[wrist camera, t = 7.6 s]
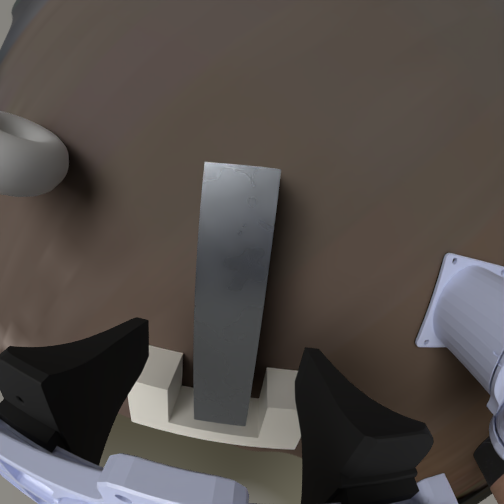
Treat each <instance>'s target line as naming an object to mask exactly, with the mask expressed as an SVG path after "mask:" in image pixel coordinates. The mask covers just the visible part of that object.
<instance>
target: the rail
mask: <svg viewBox="0 0 504 504" xmlns="http://www.w3.org/2000/svg"><path fill="white" fill-rule="evenodd" d="M280 174H281V169H273V168H265V167H256V166H246V165H236V164H225V163H212V162H205V166H204V175H203V186H202V196H201V208H200V220H199V233H198V248H197V265H196V284H195V309H194V356H193V389H194V419H195V420H201V421H207V422H214V423H221V424H229V425H237V426H246V421H247V415H248V408H249V402H250V396H251V389H252V383H253V376H254V370H255V363H256V356H257V349H258V343H259V336H260V329H261V322H262V315H263V308H264V300H265V293H266V286H267V278H268V271H269V263H270V256H271V248H272V240H273V232H274V224H275V216H276V208H277V200H278V191H279V183H280Z"/></svg>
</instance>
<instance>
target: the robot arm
mask: <svg viewBox="0 0 504 504" xmlns="http://www.w3.org/2000/svg"><path fill="white" fill-rule="evenodd" d="M453 259H454V262H453V263H452V261H453ZM425 340H426V342H425ZM415 344H416V345H417V346H418V347H447V348H448V349H449V350H450V351H451V352H452V353H453V354H454V355H455V357H456V358H457V359H458V360H459V361H460V362H461V363H462V364H463V365H464V366H465V367H466V368H467V369H468V371H469V372H470V373H471V374H472V375H473V376H474V377H475V378H476V379H477V381H478V382H479V383H480V384H481V385H482V386H483V387H484V389H485V390H486V391H487V392H488V393H489V394H490V399H489V401H488V403H487V405H486V406H487V407H488V409H489V410H490V411H491V412H492V414H493V416H492V418H491V421H490V424H489V435H490V439H491V442H492V445H493V447H494V449H495V451H496V452H497V454H498V455H499V456H500V457H501V458H502V459H503V460H504V267H503V266H500V265H496V264H492V263H488V262H484V261H481V260H477V259H473V258H469V257H465V256H461V255H457V254H453V253H447V254H446V255H445V256H444V259H443V262H442V266H441V270H440V273H439V276H438V280H437V283H436V286H435V289H434V292H433V295H432V298H431V301H430V304H429V307H428V310H427V312H426V315H425V318H424V321H423V323H422V326H421V328H420V331H419V333H418V336H417V338H416V341H415ZM148 357H149V331H148V320H145V319H141V318H137V317H136V318H133V319H131V320H129V321H126V322H124V323H122V324H120V325H118V326H116V327H113V328H111V329H109V330H107V331H104V332H102V333H99V334H97V335H94V336H91V337H89V338H86V339H83V340H79V341H75V342H72V343H67V344H61V345H55V346H47V347H14V346H9V347H8V348H7V349H6V350H4V351H3V352H2V353H1V354H0V391H1V393H2V395H3V397H4V400H3V401H2V402H1V403H0V475H1V476H3V477H4V478H5V479H6V480H7V481H9V482H10V483H11V484H12V485H14V486H15V487H16V488H17V489H19V490H20V491H21V492H23V493H24V494H25V495H27V496H28V497H29V498H31V499H32V500H33V501H35V502H36V503H38V504H254V503H248V501H249V494H248V491H247V488H246V487H244V486H243V485H241V484H239V483H238V482H236V481H234V480H232V479H228V478H224V477H221V476H217V475H211V474H206V473H200V472H195V471H190V470H186V469H181V468H177V467H173V466H169V465H165V464H161V463H158V462H154V461H151V460H147V459H144V458H141V457H137V456H133V455H128V454H124V453H120V454H116V455H111V456H110V457H109V459H108V461H107V463H106V465H105V467H104V468H103V467H100V466H99V463H100V459H101V456H102V453H103V450H104V447H105V444H106V441H107V438H108V436H109V433H110V430H111V428H112V425H113V423H114V421H115V418H116V416H117V414H118V411H119V409H120V408H121V406H122V404H123V402H124V401H125V399H126V397H127V396H128V394H129V392H130V391H131V389H132V388H133V386H134V384H135V383H136V381H137V380H138V378H139V376H140V375H141V373H142V371H143V369H144V367H145V364H146V362H147V359H148ZM295 402H296V408H297V415H298V420H299V426H300V432H301V439H302V464H303V467H302V469H303V470H302V498H301V504H458V502H457V500H456V497H455V495H454V493H453V491H452V489H451V487H450V484H449V482H448V480H447V478H446V476H445V474H444V473H442V474H438V475H435V476H432V477H428V478H425V479H422V480H420V481H419V482H417V483H416V481H415V478H414V477H416V476H417V470H416V468H415V467H416V466H417V465H418V464H419V463H420V462H421V460H422V459H423V458H424V457H425V456H426V455H427V453H428V452H429V450H430V449H431V447H432V445H433V437H432V435H431V433H430V431H429V430H428V428H427V426H426V424H425V423H423V422H420V421H417V420H414V419H411V418H408V417H405V416H403V415H400V414H398V413H396V412H394V411H392V410H390V409H388V408H386V407H384V406H382V405H380V404H379V403H377V402H375V401H374V400H372V399H371V398H369V397H368V396H367V395H365V394H364V393H362V392H361V391H360V390H359V389H357V388H356V387H355V386H354V385H353V384H352V383H350V382H349V381H348V380H347V379H346V378H345V377H344V376H343V375H342V374H341V373H340V372H339V371H338V370H337V369H336V368H335V367H334V366H333V364H332V363H331V362H330V361H329V360H328V359H327V358H326V357H325V356H324V354H323V353H322V352H321V351H320V350H319V349H315V348H305V350H304V353H303V357H302V360H301V363H300V366H299V369H298V373H297V376H296V379H295Z"/></svg>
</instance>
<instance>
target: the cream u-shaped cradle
mask: <svg viewBox="0 0 504 504" xmlns="http://www.w3.org/2000/svg"><path fill="white" fill-rule="evenodd" d="M182 369H183V353H180V352H176V351H171V350H167V349H163V348H158V347H154V346H150V345H149V357H148V359H147V362H146V364H145V367H144V369H143V371H142V373H141V375H140V376H139V378H138V380H137V381H136V383H135V384H134V386H133V388H132V389H131V391H130V392H129V394H128V401H129V408H130V414H131V419H132V422H135V423H139V424H142V425H146V426H149V427H152V428H156V429H160V430H164V431H167V432H172V433H176V434H180V435H185V436H189V437H194V438H199V439H204V440H209V441H215V442H221V443H228V444H235V445H243V446H252V447H262V448H275V449H294V450H295V448H296V446H297V444H298V442H299V439H300V437H301V432H300V426H299V420H298V415H297V408H296V402H295V379H296V376H297V373H298V371H296V370H286V369H277V368H269V367H267V369H266V373H265V377H264V381H263V385H262V389H261V393H260V397H259V398H251V397H250V402H249V408H248V415H247V421H246V426H237V425H229V424H221V423H214V422H207V421H201V420H195V419H194V389H193V388H192V387H187V386H182Z"/></svg>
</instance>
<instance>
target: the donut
mask: <svg viewBox="0 0 504 504" xmlns="http://www.w3.org/2000/svg"><path fill="white" fill-rule="evenodd" d="M68 167H69V156H68V151H67V148H66V146H65V145H64V144H63V142H62V141H61V140H60V139H59V137H57V136H56V135H55V134H53V133H52V132H51V131H49V130H47V129H46V128H44V127H42V126H40V125H38V124H36V123H34V122H32V121H30V120H27V119H25V118H22V117H20V116H17V115H14V114H11V113H7V112H3V111H0V194H3V195H9V196H15V197H27V196H38V195H41V194H45V193H47V192H50V191H52V190H53V189H54V188H55V187H56V186H57V185H58V184H59V183H60V182H61V181H63V179H64V177H65V176H66V174H67V171H68Z"/></svg>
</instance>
